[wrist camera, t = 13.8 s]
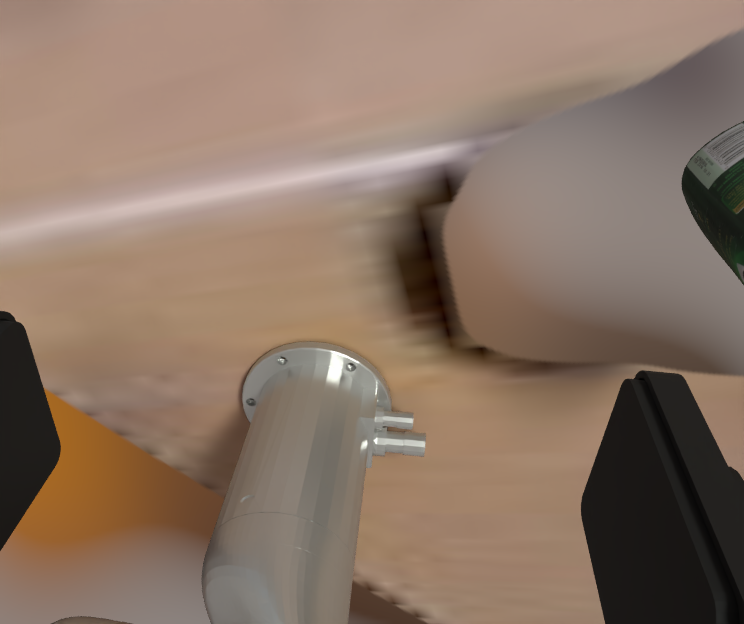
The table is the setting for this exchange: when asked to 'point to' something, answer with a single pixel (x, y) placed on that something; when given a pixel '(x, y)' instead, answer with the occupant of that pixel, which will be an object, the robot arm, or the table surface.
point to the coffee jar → (719, 194)
